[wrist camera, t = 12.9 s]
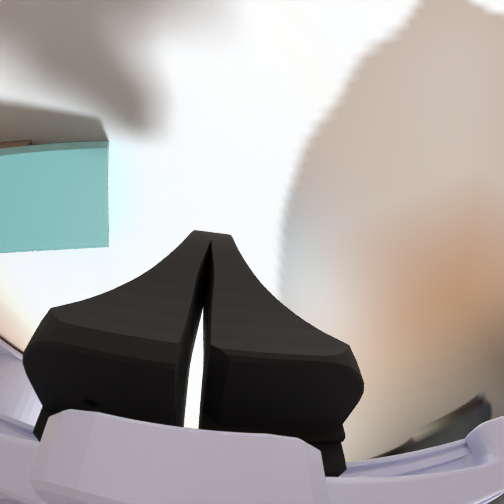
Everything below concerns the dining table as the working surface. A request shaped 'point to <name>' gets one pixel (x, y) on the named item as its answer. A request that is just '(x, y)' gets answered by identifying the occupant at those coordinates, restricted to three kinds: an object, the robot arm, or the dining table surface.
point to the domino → (54, 196)
